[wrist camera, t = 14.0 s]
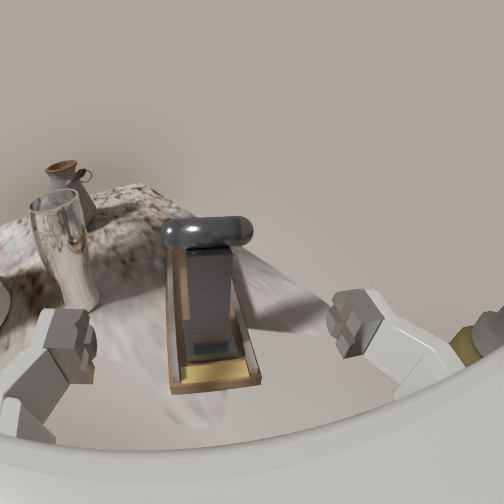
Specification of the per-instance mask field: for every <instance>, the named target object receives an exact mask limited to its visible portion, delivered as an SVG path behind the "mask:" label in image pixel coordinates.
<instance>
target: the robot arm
mask: <svg viewBox="0 0 504 504" xmlns="http://www.w3.org/2000/svg"><path fill="white" fill-rule="evenodd" d="M10 301H11V300H10V294H9V292H8V291H7V289H6V288H5V287H4V286H3V284H2V283H1V280H0V326H1V325H2V323H3V321H4V320H5V318H6V316H7V314H8V311H9V308H10ZM332 301H333V303H334V305H333V306H332V307H331V308H330V309H329V310H328V314H327V317H326V322H327V328H328V331H329V333H330V335H331V336H333V337H334V338H336V339H337V342H336V346H337V348H338V350H339V352H340V353H341V355H342V357H343V359H345V358H350V357H354V356H359V355H363V356H364V357H365V358H367V359H368V360H369V361H370V362H372V363H373V364H374V365H375V366H377V367H378V368H380V369H381V370H382V371H383V372H384V373H386V374H387V375H388V376H390V377H391V378H392V379H393V380H395V381H396V382H397V383H399V384H400V385H399V386H398V387H397V389H396V390H395V391H394V392H393V395H392V396H393V398H394V400H395V401H394V402H391V403H389V404H386V405H383V406H381V407H378V408H376V409H373V410H370V411H367V412H364V413H361V414H358V415H355V416H352V417H349V418H346V419H343V420H339V421H336V422H333V423H329V424H326V425H322V426H318V427H315V428H311V429H307V430H303V431H299V432H294V433H290V434H286V435H281V436H276V437H271V438H266V439H261V440H255V441H249V442H242V443H236V444H229V445H221V446H212V447H203V448H191V449H175V450H135V451H134V450H107V449H92V448H81V447H71V446H63V445H56V444H55V441H56V438H55V436H54V435H53V434H52V433H51V432H50V431H49V430H48V429H47V428H46V427H45V426H44V425H43V424H44V423H45V421H46V420H47V418H48V417H49V415H50V413H51V412H52V411H53V409H54V407H55V406H56V404H57V403H58V402H59V400H60V399H61V397H62V396H63V394H64V393H65V391H66V390H67V388H68V387H69V386H70V385H69V384H93V378H94V369H95V367H94V365H93V362H92V360H93V359H94V357H95V356H96V352H97V339H96V334H95V331H94V328H93V327H92V326H91V325H89V319H90V317H89V315H88V312H87V310H85V309H60V308H57V309H50V308H44V309H43V310H42V311H41V313H40V316H39V319H38V322H37V325H36V328H35V331H34V334H33V337H32V340H31V343H30V346H29V347H25V348H24V349H23V350H22V351H21V352H20V353H19V354H18V355H17V356H16V357H15V358H14V359H13V360H12V361H11V362H10V363H9V364H8V365H7V366H6V367H5V368H4V369H3V370H2V371H1V372H0V504H504V345H503V346H501V347H500V348H498V349H496V350H495V351H493V352H492V353H490V354H488V355H487V356H485V357H483V358H482V359H480V360H478V361H477V362H475V363H473V364H471V365H470V366H468V367H465V366H464V364H463V363H462V362H461V360H460V359H459V357H458V356H457V355H456V353H455V352H454V350H453V349H452V348H451V346H450V345H449V344H448V343H447V342H445V341H443V340H441V339H440V338H438V337H436V336H434V335H433V334H431V333H429V332H427V331H426V330H424V329H422V328H420V327H418V326H417V325H415V324H413V323H411V322H410V321H408V320H406V319H404V318H402V317H401V316H399V317H397V316H396V315H395V313H394V312H393V311H392V309H391V308H390V307H389V305H388V304H387V303H386V301H385V300H384V299H383V297H382V296H381V295H380V293H379V292H378V291H377V289H375V288H373V287H370V288H363V289H356V290H349V291H341V292H337V293H336V294H335V295H334V297H333V300H332Z"/></svg>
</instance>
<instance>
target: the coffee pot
mask: <svg viewBox="0 0 504 504" xmlns="http://www.w3.org/2000/svg"><path fill="white" fill-rule="evenodd" d="M76 165H77V161H75V160H69V161H63V162H59V163H56V164H53V165H51V166H49V167H48V168H47V169H46V170H45V172H46V173H47V174H48V175H49V176H50V178H51V182H50V186H49V192H50V191H53V190H57V189H66V188H68V189H74V190H76V191H77V192H78V195H79V200H80V204H81V207H82V211H83V215H84V220H85V224H86V227H87V226H88V224H89V222H90V221H91V220H92V218H93V216H94V215H95V211H96V206H95V204H94V203H93V201H92V199H91V198H90V196H89V195H88V193H87V191H86V190H85V188H84V187H83V185H82V183H81V181H80V180H79V179H80V178H81V177H83V176H84V174H85V173H86V171H88V170H86V169H80V170H78V172H76V173H75V167H76ZM88 172H90V171H88ZM90 173H91V172H90ZM91 178H92V174H91ZM91 178H90V179H91Z"/></svg>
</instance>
